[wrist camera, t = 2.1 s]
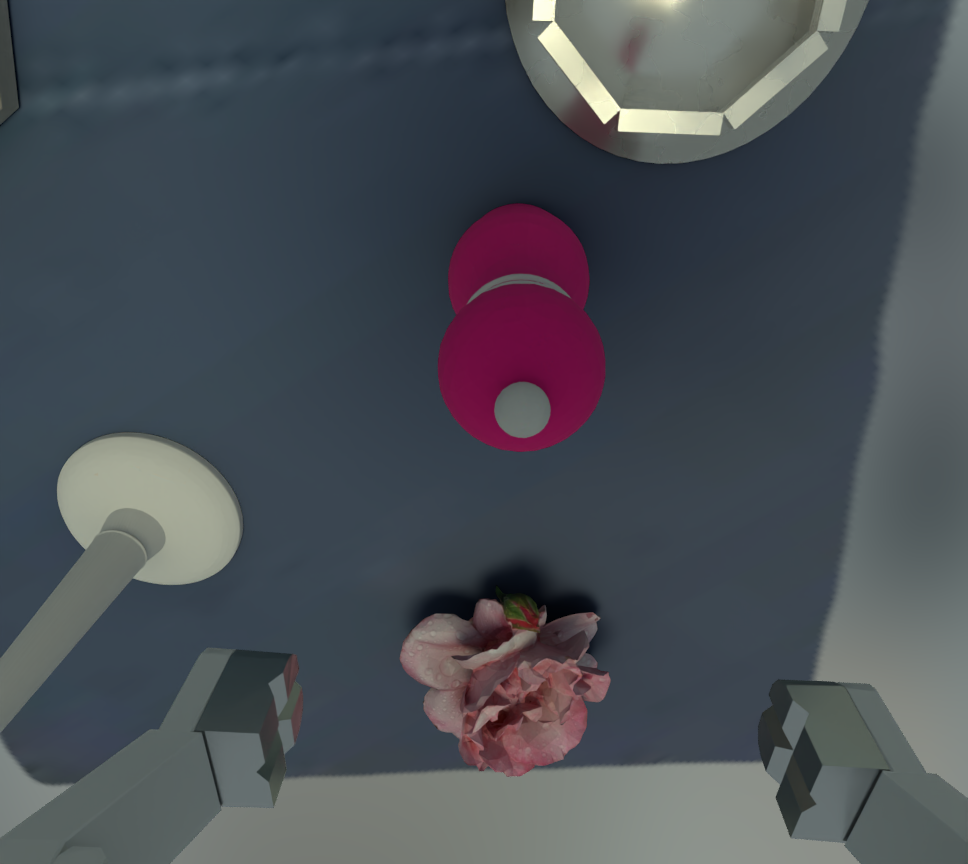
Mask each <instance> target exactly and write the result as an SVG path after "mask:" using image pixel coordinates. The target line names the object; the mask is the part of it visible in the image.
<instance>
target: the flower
mask: <svg viewBox="0 0 968 864" xmlns="http://www.w3.org/2000/svg"><path fill="white" fill-rule="evenodd" d="M496 595H497V597H498V598H499V599H500V602H498V601H497V600H496V599H488V598H485V599H479V601H478V602H477V603H476V606H475V611H474V615H473V617H472V618H471V619H470V620H469V621H466V620H463V619H461V618H459V617H458V616H457V615H455V614H433V615H431V616H429V617H427V618H425V619H423V620H422V621H421V622H420V623H419V624H418V625H417V626H416V627H415V628H413V629H412V630H411V632H410V633H409V635H408V636H407V637H406V639H405V640H404V641H403V647H402V651H401V655H400V661H401V663H402V666H403V668H404V670H405V671H406V672H407V673H408V674H409V675H410V676H411V677H413V678H414V679H415V680H416V681H418V682H419V683H421V684H424V685H427V686H429V687H432V688H431V689H430V690H429V691H428V693H427V694H426V695H425V697H424V699H425V700H424V702H423V704H424V711H425V713H426V714H427V716H428V717H429V719H430V720H431V721H432V723H433V724H434V725H435V727H436V728H437V729H438V730H440V731H443V732H452V733H453V734H454V735H455V736H456V737H458V738H459V739H460V741H459V744H458V746H459V752H460V754H461V756H462V758H463V760H464V761H465V762H466V763H467V765H477V767H478V769H479V771H484V770H485V769H486V768H487V766H490V767H491V768H492V769H493V770H494V771H495V772H504V774H505V775H506V776H507V777H509V776H522V775H523V774H525V773H526V772H528V771H530V770H531V769H533V768H534V765H535V764H536V765H541V766H544V765H547V764H551V763H554V762H556V761H559V760H562V759H564V756H565V754H566V753H567V752H568V751H569V750H570V749H572V748H574V747H576V745H577V744H578V743H579V742H580V740H581V737H582V735H583V733H584V731H585V729H586V727H587V709H586V706H585V704H584V702H583V700H585V701H590V702H600V701H601V700H603V699H604V698H605V695H606V692H607V690H608V687H609V684H610V681H611V680H610V677H609V674H608V673H609V672H605V671H600V670H598V669H596V668H597V662H596V660H595V659H594V658H593V656H592V655H590V654H587V653H585V652H586V651H587V649H588V648H589V642H590V641H591V639H592V638H593V637H594V635H595V634H596V631H597V623H596V622H597V621H598V620H599V619H601V618H600V616H596V614H594V613H593V612H590V613H577V614H573V615H569V616H565V617H562V618H559V619H557V620H554V621H552V622H550V623H548V624H547V623H545V622H546V617H547V612H546V606H545V605H543V606H541V608H540V609H539V610H538V609H537V605H536V603H535V602H534V601H533V600H532V598H531V597H529V596H527V595H525V594H522V593H516V594H504V593H502V591H501V590H500V589H499V587H498V586H497V585H496ZM555 632H556V633H555Z"/></svg>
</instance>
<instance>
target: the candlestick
mask: <svg viewBox="0 0 968 864" xmlns="http://www.w3.org/2000/svg"><path fill="white" fill-rule="evenodd" d="M57 498H58V504H59V508H60V511H61V514H62V516H63V519H64V521H65V523H66V525H67V527H68V528H69V530H70V532H71V533H72V535H73V536H74V537H75V539H76V540H77V541H78V542H79V543H80V544H81V546H82V547H83V548H84V549H85V552H84V553H83V554H82V556H81V557H80V558H79V560H78V561H77V562H76V563H75V565H74V566H73V567H72V568H71V570H70V571H69V572H68V573H67V575H66V576H65V577H64V579H63V580H62V581H61V582H60V584H59V585H58V586H57V587H56V589H55V590H54V591H53V593H52V594H51V595H50V596H49V598H48V599H47V600H46V601H45V603H44V604H43V605H42V606H41V608H40V609H39V610H38V612H37V613H36V614H35V615H34V617H33V618H32V619H31V620H30V622H29V623H28V624H27V625H26V627H25V628H24V629H23V631H22V632H21V633H20V634H19V636H18V637H17V638H16V639H15V641H14V642H13V643H12V644H11V646H10V647H9V648H8V650H7V651H6V652H5V653H4V655H3V656H2V657H1V658H0V733H1V731H2V730H3V729H4V728H5V727H6V726H7V724H8V723H9V722H10V721H11V720H12V719H13V717H14V716H15V715H16V714H17V713H18V712H19V710H20V709H21V708H22V707H23V706H24V705H25V703H26V702H27V701H28V700H29V699H30V698H31V696H32V695H33V694H34V693H35V692H36V691H37V689H38V688H39V687H40V686H41V685H42V684H43V682H44V681H45V680H46V679H47V678H48V676H49V675H50V674H51V673H52V672H53V671H54V669H55V668H56V667H57V666H58V665H59V664H60V662H61V661H62V660H63V659H64V658H65V657H66V655H67V654H68V653H69V652H70V651H71V650H72V648H73V647H74V646H75V645H76V644H77V643H78V641H79V640H80V639H81V638H82V637H83V636H84V634H85V633H86V632H87V631H88V630H89V629H90V627H91V626H92V625H93V624H94V623H95V622H96V620H97V619H98V618H99V617H100V616H101V614H102V613H103V612H104V611H105V610H106V609H107V607H108V606H109V605H110V604H111V603H112V602H113V600H114V599H115V598H116V597H117V596H118V595H119V593H120V592H121V591H122V590H123V589H124V588H125V586H126V585H127V584H128V583H129V582H130V581H131V580H132V578H134V579H137V580H141V581H145V582H149V583H155V584H165V585H179V584H188V583H193V582H197V581H200V580H203V579H206V578H208V577H210V576H212V575H214V574H216V573H217V572H218V571H220V570H221V569H222V568H223V567H225V566H226V565H227V564H228V562H229V561H230V560H231V559H232V557H233V556H234V554H235V552H236V550H237V549H238V547H239V544H240V542H241V538H242V533H243V517H242V512H241V508H240V505H239V502H238V499H237V497H236V495H235V493H234V491H233V490H232V488H231V486H230V485H229V484H228V482H227V481H226V479H225V478H224V477H223V476H222V475H221V473H220V472H219V471H218V470H217V469H216V468H215V467H214V466H213V465H211V464H210V463H209V462H208V461H207V460H205V459H204V458H203V457H201V456H200V455H198V454H197V453H195V452H194V451H192V450H190V449H189V448H187V447H185V446H183V445H181V444H179V443H176V442H174V441H172V440H169V439H166V438H163V437H159V436H155V435H151V434H145V433H135V432H123V433H113V434H108V435H104V436H101V437H98V438H96V439H93V440H91V441H89V442H88V443H86V444H84V445H83V446H82V447H80V448H79V449H78V450H77V451H76V452H75V453H73V454H72V455H71V457H70V458H69V459H68V460H67V462H66V463H65V465H64V466H63V468H62V470H61V473H60V475H59V479H58V485H57Z"/></svg>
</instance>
